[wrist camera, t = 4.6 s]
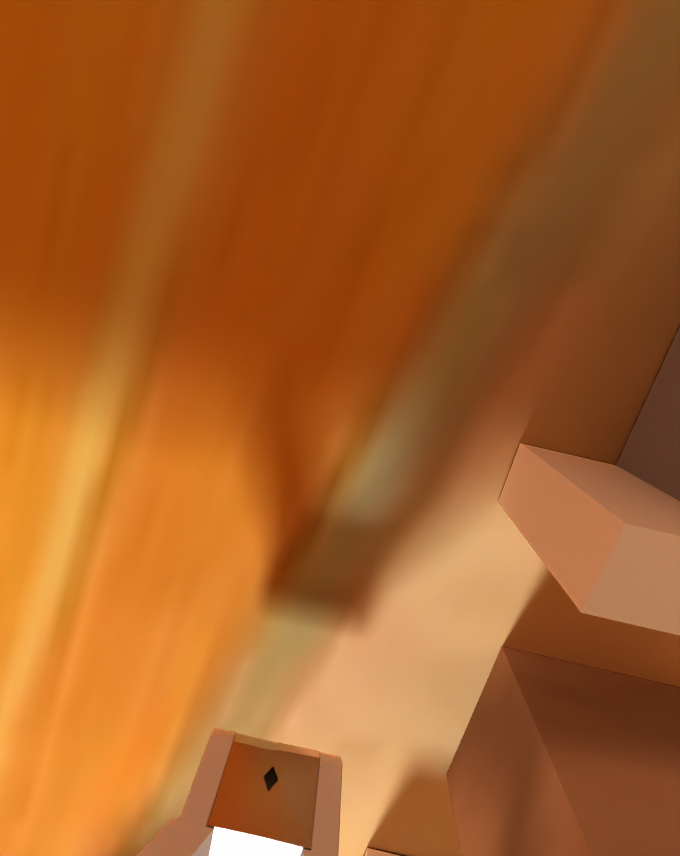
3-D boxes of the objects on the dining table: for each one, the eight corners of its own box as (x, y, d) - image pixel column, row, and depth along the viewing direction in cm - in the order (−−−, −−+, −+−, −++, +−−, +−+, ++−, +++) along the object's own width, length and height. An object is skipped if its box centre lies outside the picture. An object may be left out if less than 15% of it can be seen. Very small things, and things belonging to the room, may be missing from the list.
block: (500, 644, 10) (627, 938, 5) (682, 685, 10) (975, 1018, 5) (446, 771, 11) (505, 1097, 7) (605, 808, 11) (781, 1160, 7)
